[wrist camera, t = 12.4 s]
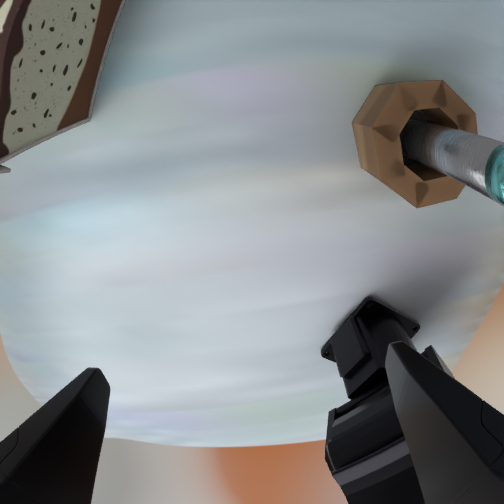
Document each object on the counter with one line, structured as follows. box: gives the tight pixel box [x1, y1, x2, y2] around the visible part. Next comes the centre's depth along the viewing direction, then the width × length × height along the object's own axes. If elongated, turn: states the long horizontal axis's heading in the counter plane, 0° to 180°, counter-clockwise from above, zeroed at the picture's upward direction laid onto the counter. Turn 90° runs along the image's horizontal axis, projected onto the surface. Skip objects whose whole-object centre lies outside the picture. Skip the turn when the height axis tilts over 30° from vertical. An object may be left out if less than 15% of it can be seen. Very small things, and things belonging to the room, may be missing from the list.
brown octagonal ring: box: [352, 80, 478, 208], centre depth 17 cm, size 7×7×4 cm
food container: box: [0, 0, 126, 173], centre depth 11 cm, size 12×6×10 cm, turn 162°
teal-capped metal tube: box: [399, 119, 504, 206], centre depth 13 cm, size 2×2×11 cm
